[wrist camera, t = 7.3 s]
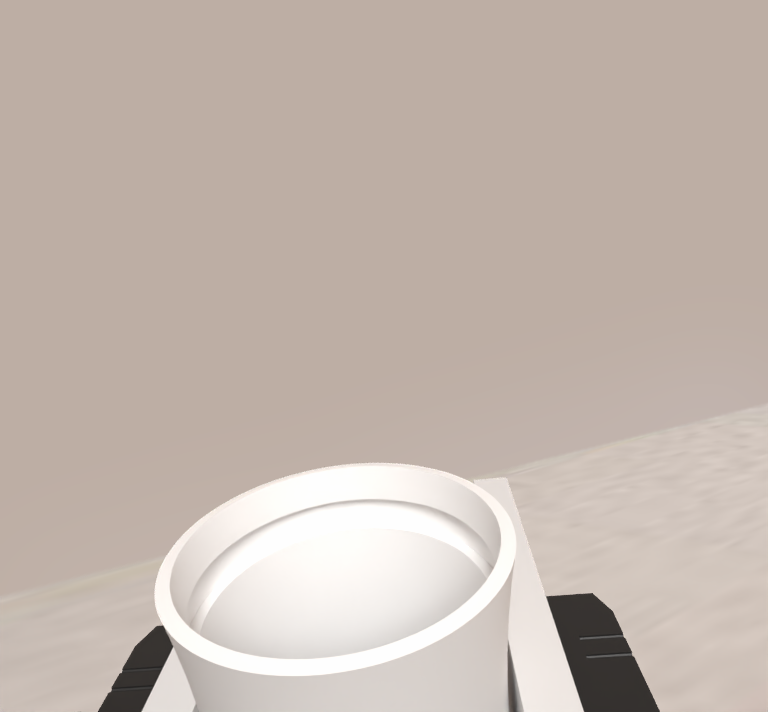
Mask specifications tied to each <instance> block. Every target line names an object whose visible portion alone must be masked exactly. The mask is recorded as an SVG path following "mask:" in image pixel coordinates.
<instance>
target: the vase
mask: <svg viewBox="0 0 768 712" xmlns="http://www.w3.org/2000/svg"><path fill="white" fill-rule="evenodd" d="M337 526H338V527H337ZM322 529H323V530H322ZM468 546H469V547H468ZM515 555H516V535H515V530H514V527H513V524H512V521H511V519H510V517H509V515H508V514H507V512H506V511H505V509H504V508H503V507H502V505H501V504H500V503H499V502H498V501H497V500H496V499H495V498H494V497H493V496H491V495H490V494H489V493H488V492H486V491H485V490H483V489H482V488H480V487H479V486H477V485H475V484H473V483H472V482H470V481H468V480H465V479H463V478H461V477H458V476H456V475H453V474H450V473H447V472H444V471H440V470H436V469H432V468H427V467H421V466H415V465H407V464H395V463H360V464H348V465H339V466H332V467H326V468H320V469H315V470H310V471H306V472H301V473H297V474H294V475H290V476H287V477H283V478H280V479H277V480H275V481H272V482H269V483H266V484H264V485H261V486H258V487H256V488H254V489H251V490H249V491H247V492H245V493H243V494H240V495H239V496H237V497H235V498H233V499H231V500H229V501H228V502H226V503H224V504H222V505H220V506H219V507H217V508H216V509H214V510H213V511H211V512H210V513H208V514H207V515H205V516H204V517H203V518H202V519H200V520H199V521H198V522H196V523H195V524H194V525H193V526H192V527H191V528H190V529H188V530H187V531H186V532H185V533H184V534H183V535H182V536H181V538H180V539H179V540H178V541H177V542H176V543H175V545H174V546H173V547H172V549H171V550H170V551H169V553H168V554H167V556H166V558H165V559H164V561H163V563H162V565H161V567H160V570H159V573H158V576H157V579H156V584H155V605H156V609H157V613H158V615H159V618H160V620H161V622H162V624H163V626H164V628H165V630H166V632H167V634H168V636H169V638H170V641H171V643H172V645H173V647H174V649H175V651H176V654H177V656H178V658H179V661H180V663H181V665H182V668H183V670H184V672H185V675H186V677H187V680H188V682H189V685H190V688H191V691H192V693H193V696H194V699H195V702H196V705H197V707H198V710H199V712H509V701H508V665H507V651H508V624H509V608H510V596H511V586H512V577H513V569H514V562H515ZM203 601H204V602H203Z"/></svg>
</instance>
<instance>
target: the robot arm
mask: <svg viewBox="0 0 768 712" xmlns="http://www.w3.org/2000/svg"><path fill="white" fill-rule="evenodd" d="M473 481H474V484H475V485H477V486H479V487H480V488H482V489H483V490H485V491H486V492H488V493H489V494H490V495H491V496H493V497H494V498H495V499H496V500H497V501H498V502H499V503H500V504H501V505H502V507H503V508H504V509H505V511H506V512H507V514H508V515H509V517H510V519H511V521H512V524H513V527H514V530H515V535H516V555H515V562H514V569H513V577H512V586H511V596H510V608H509V624H508V651H507V665H508V701H509V712H660V711H659V709H658V707H657V705H656V702H655V700H654V698H653V696H652V694H651V692H650V690H649V688H648V685H647V683H646V681H645V679H644V677H643V675H642V673H641V671H640V668H639V666H638V664H637V662H636V660H635V658H634V657H633V656H632V651H631V649H630V647H629V645H628V643H627V641H626V639H625V638H624V637H623V632H622V630H621V628H620V626H619V624H618V622H617V620H616V617H615V615H614V613H613V611H612V610H611V609H609V608H608V607H607V606H606V605H605V604H604V603H603V602H602V601H600V600H599V599H598V598H597V597H596V596H595V595H594V594H593V593H589V594H574V595H560V596H546V595H545V592H544V589H543V586H542V583H541V580H540V577H539V574H538V571H537V568H536V565H535V562H534V559H533V556H532V553H531V550H530V547H529V543H528V540H527V537H526V534H525V531H524V528H523V525H522V522H521V519H520V516H519V513H518V510H517V507H516V504H515V501H514V498H513V495H512V492H511V489H510V486H509V483H508V480H507V477H503V478H491V479H479V480H473ZM203 602H204V601H203ZM122 670H123V671H122V673H120V674H119V676H118V677H117V679H116V681H115V683H114V684H113V686H112V691H111V692H110V693H108V695H107V697H106V698H105V700H104V702H103V704H102V705H101V707H100V709H99V711H98V712H199V710H198V707H197V705H196V702H195V699H194V696H193V693H192V691H191V688H190V685H189V682H188V680H187V677H186V675H185V672H184V670H183V668H182V665H181V663H180V661H179V658H178V656H177V654H176V651H175V649H174V647H173V645H172V643H171V641H170V638H169V636H168V634H167V632H166V630H165V628H164V626H157V627H155V628H154V629H153V630H152V631H151V632H150V633H149V634H148V635H147V636H146V637H145V638H144V639H143V640H142V641H140V642H139V643H138V644H137V645H136V646H135V648H134V650H133V651H132V653H131V655H130V657H129V658H128V660H127V662H126V664H125V665H124V667H123V669H122Z"/></svg>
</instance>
